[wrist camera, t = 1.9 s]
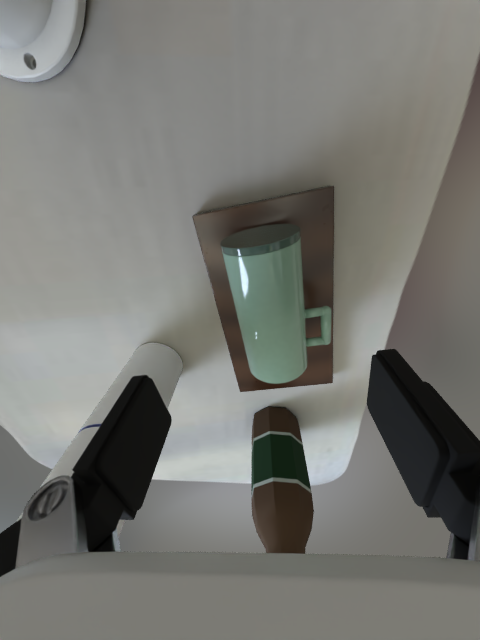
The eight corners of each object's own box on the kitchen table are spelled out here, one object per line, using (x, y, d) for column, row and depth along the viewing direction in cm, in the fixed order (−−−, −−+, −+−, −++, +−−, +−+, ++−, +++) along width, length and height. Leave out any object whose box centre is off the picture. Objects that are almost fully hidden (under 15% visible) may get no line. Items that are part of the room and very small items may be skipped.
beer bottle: (307, 414, 38) (370, 690, 17) (282, 439, 42) (309, 690, 21) (265, 398, 37) (280, 678, 16) (243, 425, 40) (231, 681, 20)
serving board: (195, 214, 23) (192, 216, 22) (329, 185, 22) (334, 186, 20) (240, 384, 35) (240, 392, 34) (329, 375, 33) (332, 383, 32)
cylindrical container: (182, 345, 32) (37, 678, 11) (183, 383, 36) (77, 686, 14) (130, 339, 32) (-121, 662, 11) (136, 377, 36) (-41, 674, 14)
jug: (249, 346, 30) (223, 233, 22) (322, 337, 28) (321, 214, 21) (248, 386, 24) (214, 254, 17) (340, 377, 23) (346, 229, 16)
